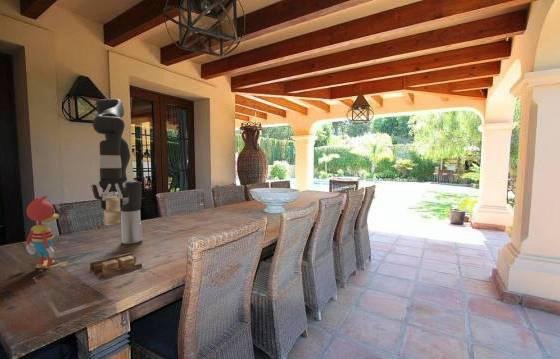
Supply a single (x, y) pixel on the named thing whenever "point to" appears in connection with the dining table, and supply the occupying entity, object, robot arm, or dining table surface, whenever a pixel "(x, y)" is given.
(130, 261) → the offcut
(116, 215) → the long beige rectangular prism
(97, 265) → the rack
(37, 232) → the toy
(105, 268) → the offcut
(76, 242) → the dining table surface
